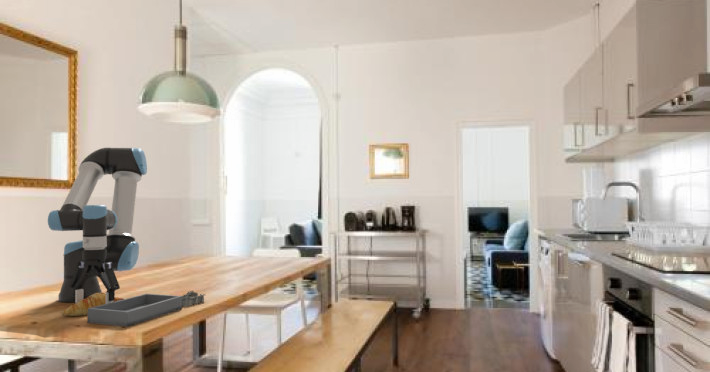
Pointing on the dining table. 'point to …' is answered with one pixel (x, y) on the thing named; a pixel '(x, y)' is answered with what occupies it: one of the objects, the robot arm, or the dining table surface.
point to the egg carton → (192, 298)
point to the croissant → (87, 305)
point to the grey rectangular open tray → (134, 309)
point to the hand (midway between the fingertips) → (94, 309)
